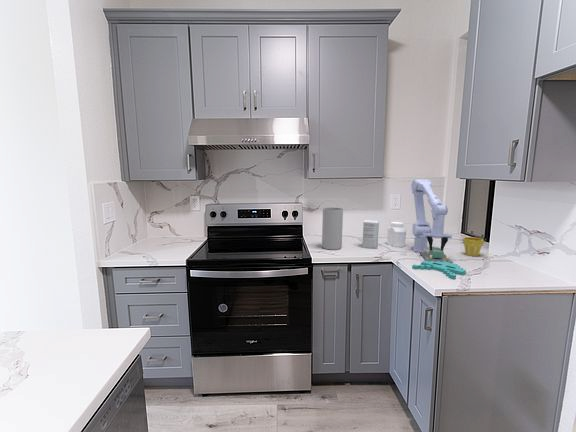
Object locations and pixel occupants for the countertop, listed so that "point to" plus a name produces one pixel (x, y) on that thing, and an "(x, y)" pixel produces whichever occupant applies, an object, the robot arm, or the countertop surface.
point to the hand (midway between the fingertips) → (436, 250)
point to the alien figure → (441, 268)
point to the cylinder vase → (332, 228)
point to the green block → (436, 252)
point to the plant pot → (472, 245)
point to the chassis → (428, 257)
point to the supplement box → (370, 234)
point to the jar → (396, 234)
